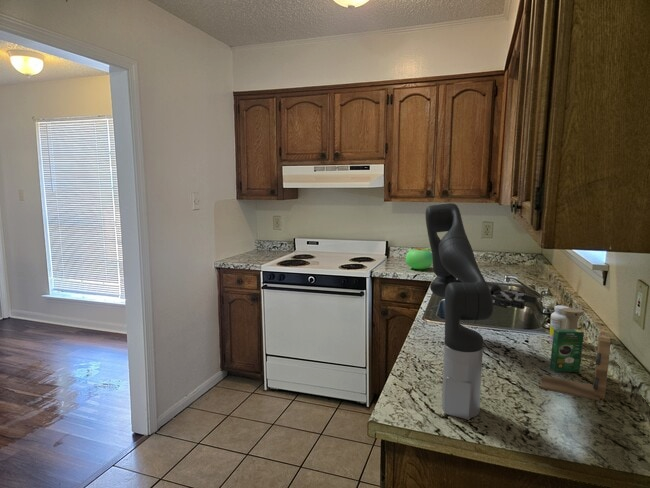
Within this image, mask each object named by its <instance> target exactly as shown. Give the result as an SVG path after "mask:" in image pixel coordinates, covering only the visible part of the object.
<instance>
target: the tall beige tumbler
mask: <svg viewBox="0 0 650 488" xmlns="http://www.w3.org/2000/svg"><path fill="white" fill-rule="evenodd" d="M584 311H585V310H583V309H581V308H576V307H569V308H562V311H561V312H562V313H563V314H564V315H566V323H565V329H578V321H579V320H578V319H579V318H580V317H582V316H584Z"/></svg>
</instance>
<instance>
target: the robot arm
mask: <svg viewBox="0 0 650 488" xmlns="http://www.w3.org/2000/svg"><path fill="white" fill-rule="evenodd" d="M425 224H426V231H427V237H428V241H429V246H430V247H431V250H430V252H431V253H432V258H433V264H432V271H433V273H434V275H436V277H435V278H434V279H433V280H432V281H431V283H430V285H429V287H430V288H429V289H430V290H431V292H432V293H433V294H434V295H435V296H437V297H440V298H444V347H443V349H444V350H443V366H442V367H443V368H442V369H443V371H442V393H441V394H442V397H441V399H442V400H441V406H442V409H443V414H446V415H448V416H453V417H457V418H460V419H463V420H468V421H470V419H472V418H475V417H477V416H478V415H479V414H480V409H481V408H480V406H481V391H482V372H483V371H482V369H483V355H484V336H482V334H480V333H479V332H478V331H477V330H473V329H472V328H468V327H466V326H464V325H463V324H461V323H460V321H462V320H463V321H485V320H488V319H489V318H491V316H492V315H493V312H494V307H495V306H496V307H500V308H502V309H504V308H505V309H507V308H515V309H520V310H524V309H525V305H526V303H529V304H533V305H535V304H537V303H538V297H537V296H534V295H529V294H527V292H526V291H521V290H516V289H512V288H510V289H509V288H508V290H507V289H505V290H504V289H503V290H502V289H501V287H500V285H499V284H498V283H492V282H487V281H486V280H485V277H484V276H483V274H482V272H481V270H480V268H479V265H478V263H477V260H476V257H475V254H474V251H473V248H472V245H471V242H470V241H469V237H468V236H467V234H466V231H465V228H464V227H465V226H464V222H463V218H462V214H461V211H460V208H459V206H458V205H457V204H456V203H452V202H451V203H450V202H448V203H440V204H434V205H429V206H427V207H426V209H425ZM445 232H446V233H445ZM438 233H445V235H444V236H442V237H441V238H440V237H439V236H438ZM525 302H526V303H525Z"/></svg>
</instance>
